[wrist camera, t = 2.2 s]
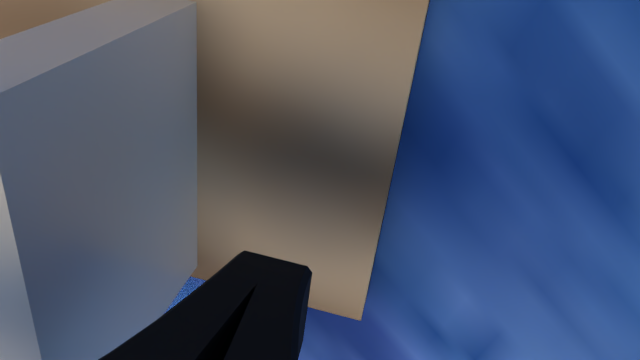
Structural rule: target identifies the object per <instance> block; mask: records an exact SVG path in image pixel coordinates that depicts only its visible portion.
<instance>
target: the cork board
mask: <svg viewBox="0 0 640 360" xmlns="http://www.w3.org/2000/svg"><path fill="white" fill-rule="evenodd" d="M108 1H111V0H0V39H2V38H5V37H8V36H11V35H14V34H17V33H20V32H22V31H25V30H28V29H31V28H34V27H37V26H40V25H42V24H45V23H48V22H51V21H54V20H57V19H60V18H62V17H65V16H68V15H71V14H74V13H77V12H80V11H82V10H85V9H88V8H91V7H94V6H97V5H100V4H103V3H105V2H108ZM189 1H194V2H197V267H196V269H195V270H194V272H193V273H192V274H191V277H195V278H199V279H203V280H208V279H209V278H211V277H212V276H213V275H214V274H215V273H217V272H218V271H219V270H220V269H221V268H222V267H224V266H225V265H226V264H227V263H228V262H229V261H231V260H232V259H233V258H234V257H235V256H236V255H238V254H239V253H241V252H242V251H244V250H245V251H249V252H253V253H257V254H261V255H265V256H269V257H273V258H277V259H281V260H285V261H289V262H293V263H297V264H301V265H305V266H308V267H309V269H310V270H311V271H312V279H311V286H310V293H309V300H308V307H310V308H314V309H318V310H322V311H326V312H329V313H333V314H337V315H341V316H345V317H349V318H352V319H356V320H360V321H361V318H362V313H363V309H364V305H365V301H366V297H367V292H368V288H369V283H370V278H371V273H372V269H373V264H374V259H375V255H376V250H377V245H378V241H379V236H380V231H381V227H382V222H383V217H384V213H385V208H386V203H387V199H388V194H389V189H390V184H391V180H392V175H393V170H394V166H395V161H396V156H397V152H398V147H399V142H400V138H401V133H402V128H403V124H404V119H405V114H406V110H407V105H408V100H409V95H410V91H411V86H412V81H413V77H414V72H415V67H416V63H417V58H418V53H419V49H420V44H421V39H422V35H423V30H424V25H425V21H426V16H427V11H428V7H429V2H430V0H189Z"/></svg>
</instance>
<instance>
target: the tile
mask: <svg viewBox="0 0 640 360" xmlns="http://www.w3.org/2000/svg"><path fill="white" fill-rule="evenodd" d="M196 267H197V2H194V1H189V0H111V1H108V2H105V3H103V4H100V5H97V6H94V7H91V8H88V9H85V10H82V11H80V12H77V13H74V14H71V15H68V16H65V17H62V18H60V19H57V20H54V21H51V22H48V23H45V24H42V25H40V26H37V27H34V28H31V29H28V30H25V31H22V32H20V33H17V34H14V35H11V36H8V37H5V38H2V39H0V360H98V359H100V358H101V357H103V356H105V355H106V354H108V353H109V352H111V351H112V350H114V349H115V348H117V347H118V346H120V345H121V344H122V343H124V342H125V341H127V340H128V339H130V338H131V337H133V336H134V335H135V334H137V333H138V332H140V331H141V330H143V329H144V328H146V327H147V326H149V325H150V324H151V323H153V322H154V321H155V320H157V319H158V318H160V317H161V316H162V315H163V314H164V313H165V312H166V310H167V309H168V307H169V306H170V305H171V303H172V302H173V300H174V299H175V297H176V296H177V294H178V293H179V292H180V290H181V289H182V287H183V286H184V284H185V283H186V282H187V280H188V279H189V277H190V276H191V274H192V273H193V272H194V270H195V269H196Z"/></svg>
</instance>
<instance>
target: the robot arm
mask: <svg viewBox="0 0 640 360" xmlns="http://www.w3.org/2000/svg"><path fill="white" fill-rule="evenodd" d="M311 279H312V271H311V270H310V269H309V267H308V266H305V265H301V264H297V263H293V262H289V261H285V260H281V259H277V258H273V257H269V256H265V255H261V254H257V253H253V252H249V251H245V250H244V251H242V252H241V253H239V254H238V255H236V256H235V257H234V258H233V259H232V260H231V261H229V262H228V263H227V264H226V265H225V266H224V267H222V268H221V269H220V270H219V271H218V272H217V273H215V274H214V275H213V276H212V277H211V278H209V279H208V280H207V281H206V282H204V283H203V284H202V285H201V286H200V287H198V288H197V289H196V290H195V291H193V292H192V293H191V294H190V295H188V296H187V297H186V298H184V299H183V300H182V301H180V302H179V303H178V304H177V305H175V306H174V307H173V308H171V309H170V310H169V311H167V312H166V313H165V314H163V315H162V316H161V317H160V318H158V319H157V320H155V321H154V322H153V323H151V324H150V325H149V326H147V327H146V328H144V329H143V330H141V331H140V332H138V333H137V334H135V335H134V336H133V337H131V338H130V339H128V340H127V341H125V342H124V343H122V344H121V345H120V346H118V347H117V348H115V349H114V350H112V351H111V352H109V353H108V354H106V355H105V356H103V357H101V358H100V359H98V360H298V357H299V353H300V349H301V346H302V342H303V336H304V329H305V321H306V314H307V307H308V300H309V293H310V286H311Z"/></svg>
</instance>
